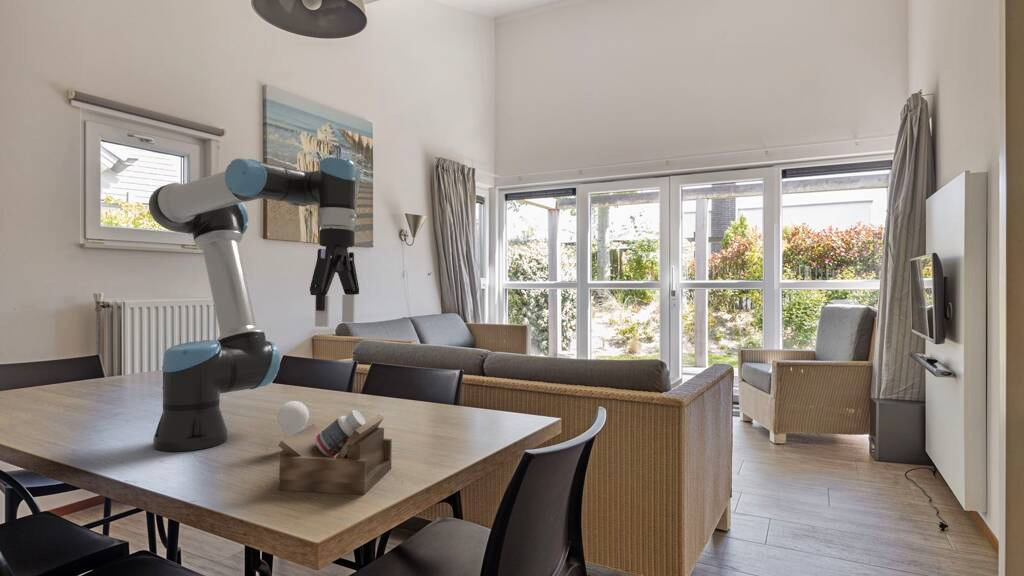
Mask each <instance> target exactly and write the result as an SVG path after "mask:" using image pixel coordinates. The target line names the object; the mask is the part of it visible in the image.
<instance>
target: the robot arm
mask: <svg viewBox="0 0 1024 576" xmlns="http://www.w3.org/2000/svg"><path fill="white" fill-rule="evenodd" d="M319 163H320V164H319V169H318V170H313V171H305V170H299V169H296V168H290V167H285V166H280V165H275V164H271V163H266V162H262V161H258V160H255V159H250V158H249V159H246V158H239V157H238V158H235V159H232V160H231V161H230V164H228V165H227V167H226V168H225V170H224V171H220V172H218V173H215V174H212V175H209V176H205V177H201V178H198V179H196V180H192V181H190V182H187V183H179V182H171V183H167V184H165V185H164V184H163V185H162V186H159V187H157V188H156V189H155V190H154V191H153V192H152V194H151V195H150V196H149V197H150V198H149V200H148V210H149V213H150V216H151V217H152V219H153V220H154V222H156V224H158V225H159V226H161V227H162V228H163V229H166V230H169V231H171V232H175V233H180V234H181V233H182V234H191V235H192V237H193V241H194V242H193V243H194V245H196V247H198V248H200V249H201V250H202V253H203V257H204V262H205V266H206V272H207V277H208V282H209V285H210V291H211V296H212V301H213V305H214V309H215V314H216V320H217V324H218V325H217V326H218V329H219V333H220V335H219V336H218V338H217V339H216V340H214V339H213V340H212V339H211V340H206V339H205V340H199V341H198V340H196V341H191V342H190V341H188V342H184V343H180V344H176V345H173V346H171V347H168V348H167V349H166V350H165V351H164V353H163V360H162V361H163V362H162V365H161V369H162V413H161V416H160V418H159V421H158V423H157V427H156V429H155V430H156V431H155V433H154V435H153V447H152V448H154V449H155V450H156V451H162V452H163V451H164V452H187V451H195V450H202V449H207V448H212V447H215V446H219V445H221V444H223V443H225V442H226V441H228V428H227V426H226V423H225V420H224V417H223V413H222V411H221V408H220V402H221V401H220V400H221V399H220V397H221V395H220V394H227V393H234V392H240V391H244V390H255V389H258V388H263V387H266V386H268V385H271V383H272V382H273V381H274V380H275V378H276V377H277V375H278V372H279V369H280V365H281V354H280V350H279V347H278V346H277V345H275V343H274V342H272V341H269V340H267V338H266V333H265V331H264V330H261V329H260V328H258V327H257V324H256V323H257V322H256V318H255V314H254V313H255V312H254V310H253V304H252V301H251V297H250V296H251V295H250V292H249V287H248V283H247V278H246V273H245V268H244V265H243V264H244V263H243V259H242V256H241V251H240V247H239V243H241V241H242V240H243V238H244V237H243V236H244V234H245V233H246V231H247V229H248V226H249V225H248V222H249V215H248V214H249V213H248V210H247V208H246V205H245V204H244V203H245V202H250V201H254V200H255V201H256V200H260V199H264V200H272V201H278V202H284V203H287V204H289V205H291V206H292V207H293V206H294V207H297V206H299V207H307V206H314V205H319V215H318V216H319V217H318V218H319V224H318V225H319V227H320V228H321V229H320V230H319V231H318V233H319V234H318V238H319V240H318V244H319V246H321V247H325V248H318V249H317V256H316V261H315V262H316V263H315V266H314V271H313V274H312V279H311V283H310V286H309V292H310V295H311V296H315V303H314V305H315V307H314V308H315V310H314V311H315V312H314V313H315V315H314V326H315V327H320V328H321V327H323V328H328V327H330V295H328V293H329V290H330V287H331V285H332V283H333V279H334V277H335V275H336V273H337V275H338V278H339V282H340V284H341V287H342V290H343V292H344V294H342V302H341V303H342V305H341V306H342V307H341V308H342V309H341V310H342V311H341V314H342V317H341V322H342V323H345V324H346V323H349V324H350V323H351V324H353V323H355V317H356V316H355V315H356V313H355V309H356V308H355V304H356V303H355V302H356V301H355V300H356V299H355V298H356V295H359V294H360V286H359V279H358V275H357V269H356V264H355V252H354V251H349V250H348V249H349V248H354V246H355V238H356V237H355V234H356V233H355V231H354V230H352V229H354V228H355V219H356V218H357V214H356V213H355V212H356V211H355V210H356V181H357V177H356V166H355V163H354V162H353V161H352V160H351V159H348V158H344V157H338V156H337V157H334V156H332V157H331V156H330V157H324V158H322V159H321V160H320V162H319Z"/></svg>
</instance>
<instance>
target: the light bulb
mask: <svg viewBox="0 0 1024 576" xmlns="http://www.w3.org/2000/svg"><path fill="white" fill-rule="evenodd" d="M309 418H310V413H309V408H308V407H307V406H306V405H305V403H303V402H301V401H298V400H290V401H288V402H285V403H283V405H282V406H281V407H280V408H279V410H278V412H277V422H278V424H279V426H280V428H281V429H282V432H283V433H284V439H285V438H287V437H289V436H291V435H293V434H295V433H297V432H299V431H301V430H303V429H305V426H306V424H307V423H308V421H309Z"/></svg>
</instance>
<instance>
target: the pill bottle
mask: <svg viewBox="0 0 1024 576" xmlns="http://www.w3.org/2000/svg"><path fill="white" fill-rule="evenodd" d="M365 423H367V422H366V419H365V417H364V416H363V415H362V414H361V412H359V411H358V410H356V409H352V410H351V411H349V412H348V414H347V415H340V416H339V417H337V418H336V419H335V420H334V421H332V423H331V424H329V425H328V426H327V427H325V429H323V430H322V432H321V433H319V434H318V435H317V436H316V438H315V442H316V444H317V446H318V448H319V449H320V451H321V452H322V453H323V454H324V455H326V456H328V457H334V456H335V455H336V454H338V453H339V452H340V451H341V449H342V448H343V446H344V445H345V444H346V442H347V441H348V439H349V438H350V436H351V435H352V434H353V432H354V431H355V430H356V429H357V428H359V427H360V426H362V425H364V424H365Z"/></svg>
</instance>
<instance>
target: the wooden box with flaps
mask: <svg viewBox="0 0 1024 576" xmlns="http://www.w3.org/2000/svg"><path fill="white" fill-rule="evenodd" d="M384 419H385V417H384V416H382V415H381V413H379V414H378V415H376V416H374V417H372V418H371V419H370V420H368V421H367V422H366V423H365V424H364V425H362V426H360V427H359V428H357V429H356V430H355V431H354V432H353V434H352V435H351V436H350V438H349V439H348V441H347V442H346V444H345V445H344V446H343V448H342V449H341V451H340V452H339V453H338V454H336V455H335V456H334V457H328V456H326V455H324V454H323V453H322V452H321V451H320V449H319V448H318V446H317V444H316V442H315V438H316V436H317V435H318V434H319V433H321V432H322V431H323V430H322V429H321V428H320V427H318V426H317V425H316V424H315V423H313V424H312V423H311V425H309V426H307V427H304V428H303V430H301V431H299V432H297V433H295V434H293V435H291V436H289V437H287V438H285V437H284V438H283V439H282V440H280V442H279V444H278V445H277V446H278V448H280V449H282V450H281V451H280V452H279V467H278V468H279V475H278V476H279V477H278V479H279V482H278V483H279V486H278V490H279V491H290V492H306V493H324V494H325V493H326V494H327V493H328V494H344V495H345V494H346V495H347V494H349V495H362V496H363V495H366V494H367V493H368V492H369V491H370V490H371V489H372V488H373V487H374V486H375V485H376V484H377V483H378V482H379V481H380V480H382V478H383V477H384V476H386V474H387V473H389V472H390V470H391V469H392V450H393V449H392V444H393V442H392V441H393V440H392V438H385V427H379V426H380V424H381V423H382V422H383V420H384Z"/></svg>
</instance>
